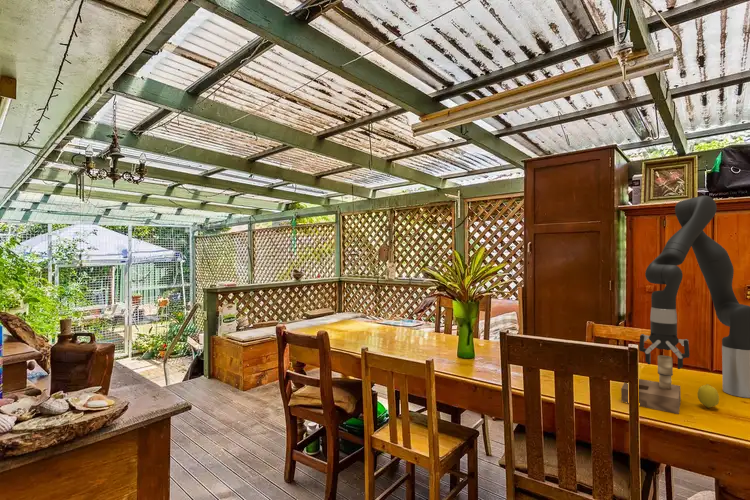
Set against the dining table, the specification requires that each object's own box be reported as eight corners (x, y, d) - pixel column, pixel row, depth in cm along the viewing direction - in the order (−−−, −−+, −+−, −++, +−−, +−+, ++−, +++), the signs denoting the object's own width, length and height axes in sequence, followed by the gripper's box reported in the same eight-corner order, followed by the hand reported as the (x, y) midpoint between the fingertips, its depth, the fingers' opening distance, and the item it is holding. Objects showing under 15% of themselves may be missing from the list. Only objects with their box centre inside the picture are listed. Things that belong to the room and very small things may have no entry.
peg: (673, 387, 137) (672, 356, 137) (672, 391, 134) (672, 359, 134) (658, 384, 140) (657, 354, 140) (657, 388, 136) (656, 357, 136)
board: (680, 399, 138) (680, 385, 138) (678, 414, 127) (678, 398, 127) (627, 389, 149) (627, 376, 149) (621, 402, 137) (621, 388, 137)
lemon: (697, 403, 135) (697, 380, 135) (718, 407, 132) (718, 383, 132) (697, 408, 131) (697, 385, 131) (719, 412, 127) (719, 388, 127)
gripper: (689, 321, 135) (689, 367, 135) (640, 316, 144) (640, 360, 145) (689, 324, 129) (689, 373, 130) (638, 319, 139) (638, 364, 139)
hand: (663, 366), depth 137 cm, fingers open, 8 cm apart
